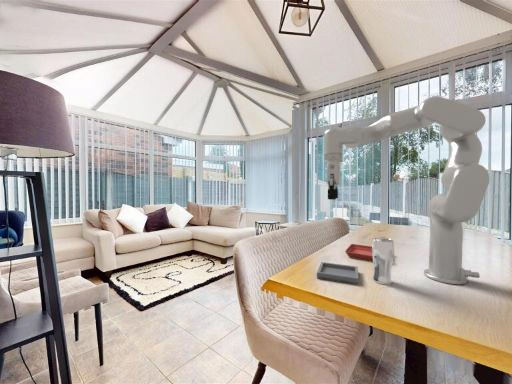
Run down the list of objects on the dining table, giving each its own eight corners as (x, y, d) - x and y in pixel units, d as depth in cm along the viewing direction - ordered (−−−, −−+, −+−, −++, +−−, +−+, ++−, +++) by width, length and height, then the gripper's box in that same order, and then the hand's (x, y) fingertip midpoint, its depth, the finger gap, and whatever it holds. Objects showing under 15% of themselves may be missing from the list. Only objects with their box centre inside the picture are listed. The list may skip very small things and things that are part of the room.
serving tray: (357, 272, 91) (357, 266, 91) (358, 284, 79) (358, 278, 79) (321, 267, 97) (321, 261, 97) (316, 278, 85) (316, 272, 85)
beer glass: (387, 277, 86) (388, 237, 85) (397, 285, 79) (398, 242, 78) (368, 276, 86) (369, 237, 86) (376, 284, 80) (377, 241, 79)
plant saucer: (389, 255, 116) (389, 248, 116) (387, 265, 101) (387, 257, 101) (351, 249, 126) (351, 243, 126) (344, 258, 110) (344, 251, 110)
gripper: (341, 155, 88) (341, 200, 89) (343, 160, 104) (343, 198, 105) (321, 156, 92) (321, 199, 92) (326, 161, 107) (326, 197, 108)
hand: (333, 198), depth 98 cm, fingers open, 9 cm apart
